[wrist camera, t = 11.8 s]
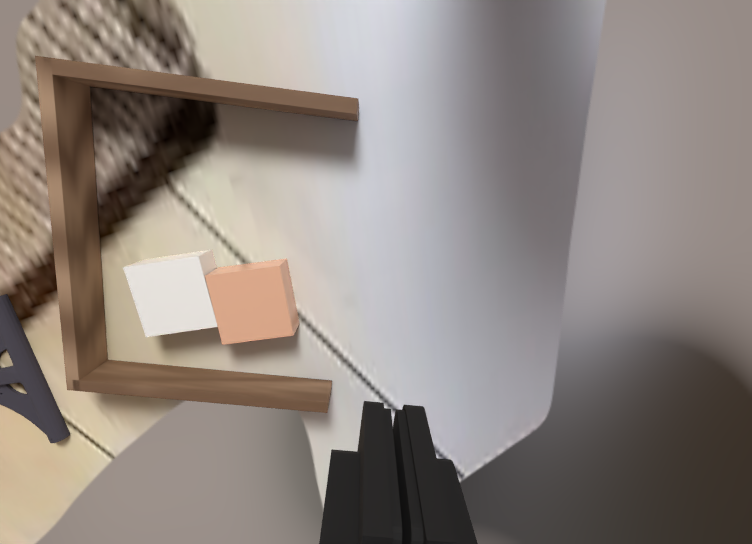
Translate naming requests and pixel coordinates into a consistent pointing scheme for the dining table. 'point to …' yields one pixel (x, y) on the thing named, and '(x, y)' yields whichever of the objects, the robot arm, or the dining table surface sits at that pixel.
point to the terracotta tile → (253, 301)
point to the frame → (82, 241)
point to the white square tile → (173, 292)
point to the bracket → (26, 378)
